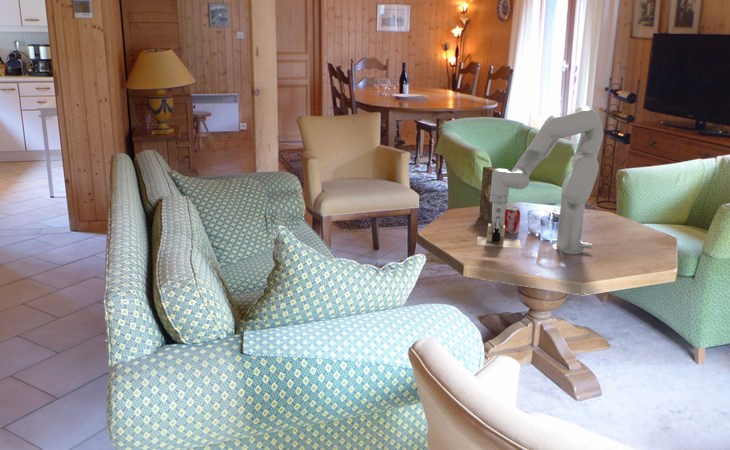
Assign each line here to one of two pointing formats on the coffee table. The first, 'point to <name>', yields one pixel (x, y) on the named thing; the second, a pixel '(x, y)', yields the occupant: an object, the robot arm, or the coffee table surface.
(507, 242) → the board
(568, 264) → the coffee table surface
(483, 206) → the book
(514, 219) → the soda can
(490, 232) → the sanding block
